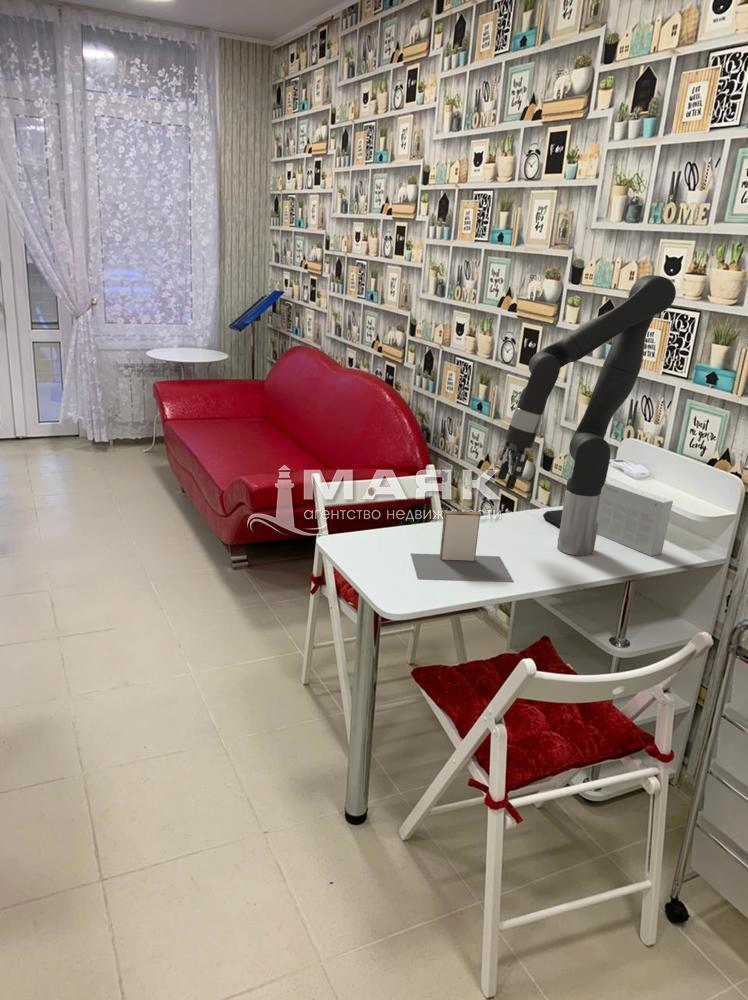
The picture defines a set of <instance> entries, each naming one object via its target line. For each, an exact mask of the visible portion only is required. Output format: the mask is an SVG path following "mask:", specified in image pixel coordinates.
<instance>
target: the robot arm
mask: <svg viewBox="0 0 748 1000" xmlns="http://www.w3.org/2000/svg"><path fill="white" fill-rule="evenodd" d="M676 291H677V289H676V285H675V284H674V282H673V281H672V280H671V279H669V278H667V277H665V276H661V275H653V274H652V275H651V274H649V275H644V276H641V277H640V278H638V279H637V280H636V281H635V282H634V283H633V285H632V286H631V288H630V291H629V294H628V297H627V299H626V300H625V301H623V302H622V303H621V304H619V305H617V306H616V307H614V308H613V309H611V310H608V311H607V312H605V313H603V314H601V315H599V316H597V317H595V318H592V319H590V320H589V321H587V322H585V323H583V324H582V325H580V326H579V327H578V328H576V329H574V330H573V331H571V332H570V333H568V334H567V335H565V336H564V337H563V338H561V339H560V340H558V341H556V342H554V343H551V344H549V345H548V346H546V347H544V348H542V349H540V350H539V351H537V352H535V354H533V356H531V358H530V360H529V362H528V370H529V372H530V376H529V378H528V381H527V384H526V386H525V387H524V388H523V389H522V391H521V393H520V396H519V399H518V402H517V404H516V408H515V409H514V412H513V414H512V417H511V420H510V422H509V426H508V429H507V432H506V435H505V440H506V441H505V443H504V446H503V448H502V451H501V455H500V457H499V462H500V467H499V470H498V474H497V478H498V479H499V480H502V481H505V480H506V482H505V488H506V489H507V490H514V489H515V485H516V483H517V481H518V478H519V477H520V478H521V477H523V474H524V470H525V467H526V464H527V460H528V458H529V455H528V454H525V451H526V449H531V448H533V446H534V443H535V441H536V440H535V439H536V437H537V435H538V432H539V429H540V426H541V423H542V417H543V414H544V411H545V408H546V406H547V401H548V398H549V396H550V395H551V392H552V391H553V390H554V387H555V385H556V383H557V381H558V378H559V375H560V373H561V372H560V371H561V369H562V368H563V367H565V366H566V365H568V364H570V363H575V362H577V361H579V360H581V359H583V358H585V357H586V356H587V355H589V354H590V353H592V352H594V351H595V350H596V349H598V348H599V347H601V346H602V345H604V344H606V343H607V342H608V341H610V340H612V339H613V340H612V343H611V346H610V348H609V350H608V353H607V355H606V357H605V360H604V362H603V364H602V367H601V369H600V371H599V374H598V378H597V380H596V383H595V385H594V389H593V391H592V393H591V397H590V399H589V402H588V404H587V407H586V409H585V412H584V415H583V416H582V418H581V419H580V422H579V424H578V426H577V428H576V430H575V432H574V433H573V436H571V439H570V442H569V447H568V450H569V455H570V456H571V458H572V459H573V460H574V463H573V469H572V473H571V477H569V478H568V479H567V481H566V487H565V494H564V499H563V506H562V510H563V511H562V518H561V524H560V528H559V532H558V538H557V547H556V548H557V549H558V550H559V551H561V552H562V553H564V554H569V555H571V556H587V555H593V554H594V552H595V545H596V541H597V535H598V534H597V529H598V523H599V522H598V521H597V520H596V518H597V512H598V506H599V500H600V494H601V489H602V487H603V486H604V484H605V481H606V480H607V475H608V471H609V466H610V461H611V447H610V445H609V443H608V442H607V440H606V439H605V436H606V432H607V430H608V428H609V424H610V423H611V420H612V418H613V416H614V415H615V414H616V412H617V411H618V410H619V409H620V407H621V406H622V405H623V404H624V403H625V401H626V400H627V399H628V397H629V396H630V395H631V393H632V390H633V389H634V386H635V384H636V382H637V379H638V377H639V375H640V372H641V369H642V363H643V359H644V351H645V345H646V344H645V342H646V338H647V334H648V331H649V328H650V326H651V324H652V321H653V319H654V318H655V316H656V315H659V314H661V313H662V312H665V311H666V310H668V309H669V308H670V307H672V304H673V303H674V302H675V299H676V296H677V295H676V294H677V292H676ZM508 472H509V473H508ZM507 476H508V477H507ZM506 478H507V479H506Z"/></svg>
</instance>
